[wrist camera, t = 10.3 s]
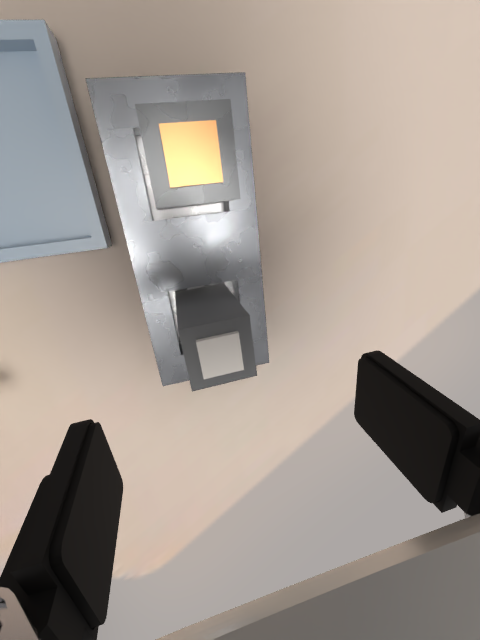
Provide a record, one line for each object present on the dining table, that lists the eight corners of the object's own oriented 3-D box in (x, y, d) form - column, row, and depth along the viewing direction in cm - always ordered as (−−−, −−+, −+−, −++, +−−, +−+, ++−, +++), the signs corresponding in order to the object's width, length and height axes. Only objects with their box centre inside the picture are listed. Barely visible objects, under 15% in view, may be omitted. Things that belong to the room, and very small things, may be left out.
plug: (174, 292, 23) (178, 331, 15) (224, 283, 23) (251, 316, 16) (184, 337, 24) (192, 394, 17) (230, 327, 25) (258, 378, 17)
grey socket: (97, 98, 18) (37, -1, 10) (234, 91, 20) (284, 1, 11) (163, 367, 26) (160, 443, 17) (259, 347, 27) (300, 408, 19)
